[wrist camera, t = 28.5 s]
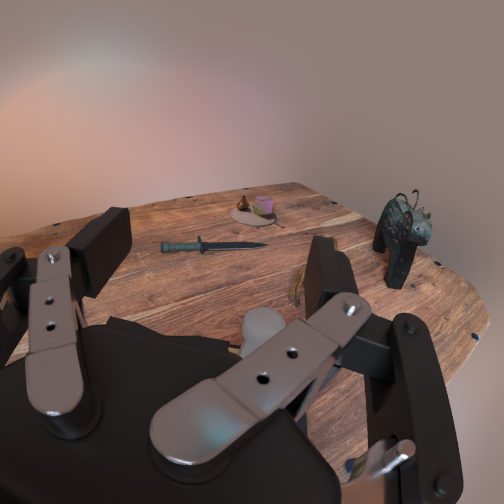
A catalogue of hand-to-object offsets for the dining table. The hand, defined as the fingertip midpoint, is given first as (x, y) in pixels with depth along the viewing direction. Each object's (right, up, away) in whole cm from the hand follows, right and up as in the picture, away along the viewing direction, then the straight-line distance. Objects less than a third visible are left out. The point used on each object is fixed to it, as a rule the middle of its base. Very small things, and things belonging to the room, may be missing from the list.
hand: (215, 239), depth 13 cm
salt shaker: (+1, -18, +23) cm, 29 cm away
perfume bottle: (+2, +9, +67) cm, 67 cm away
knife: (-6, 0, +52) cm, 52 cm away
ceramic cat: (+32, -4, +53) cm, 62 cm away
